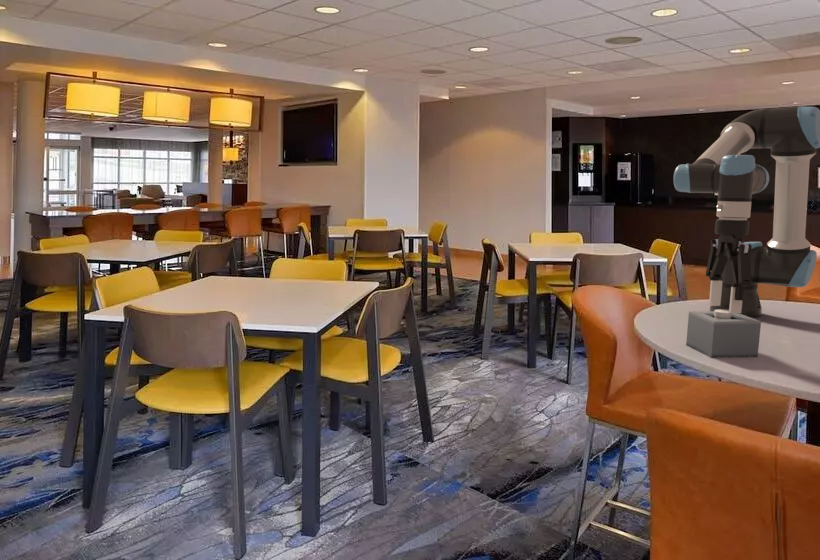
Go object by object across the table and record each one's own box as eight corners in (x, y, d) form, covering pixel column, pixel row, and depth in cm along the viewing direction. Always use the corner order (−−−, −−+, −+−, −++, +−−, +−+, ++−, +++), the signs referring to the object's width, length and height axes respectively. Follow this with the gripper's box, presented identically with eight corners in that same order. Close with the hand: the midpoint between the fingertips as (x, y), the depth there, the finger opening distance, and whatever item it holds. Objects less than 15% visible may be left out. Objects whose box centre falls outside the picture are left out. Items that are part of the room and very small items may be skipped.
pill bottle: (711, 344, 171) (712, 307, 170) (734, 347, 168) (736, 309, 167) (707, 349, 167) (709, 311, 165) (730, 352, 164) (732, 313, 162)
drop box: (729, 344, 174) (732, 311, 173) (757, 357, 162) (761, 321, 161) (686, 345, 173) (688, 311, 171) (711, 357, 161) (714, 321, 160)
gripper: (695, 215, 172) (688, 301, 176) (743, 221, 152) (734, 318, 155) (722, 216, 173) (715, 301, 177) (774, 221, 152) (764, 318, 156)
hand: (724, 309), depth 166 cm, fingers open, 8 cm apart
